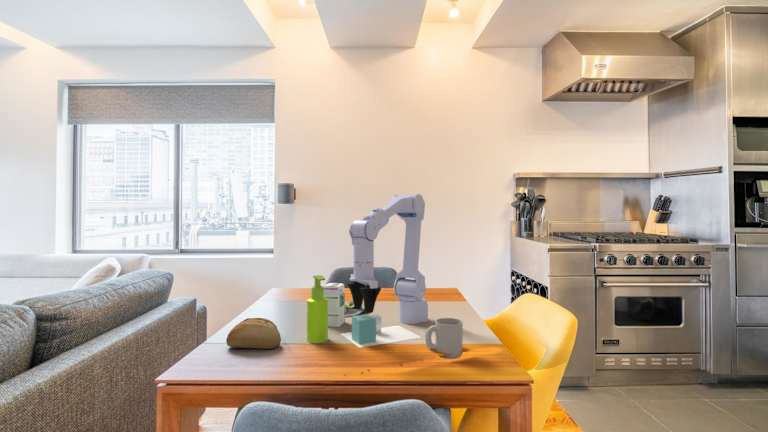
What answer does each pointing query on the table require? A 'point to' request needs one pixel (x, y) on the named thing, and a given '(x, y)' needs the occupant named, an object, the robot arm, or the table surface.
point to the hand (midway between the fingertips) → (363, 309)
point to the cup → (446, 337)
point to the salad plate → (352, 310)
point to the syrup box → (335, 303)
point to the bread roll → (254, 334)
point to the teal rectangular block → (363, 329)
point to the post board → (386, 336)
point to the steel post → (377, 323)
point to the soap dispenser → (317, 314)
